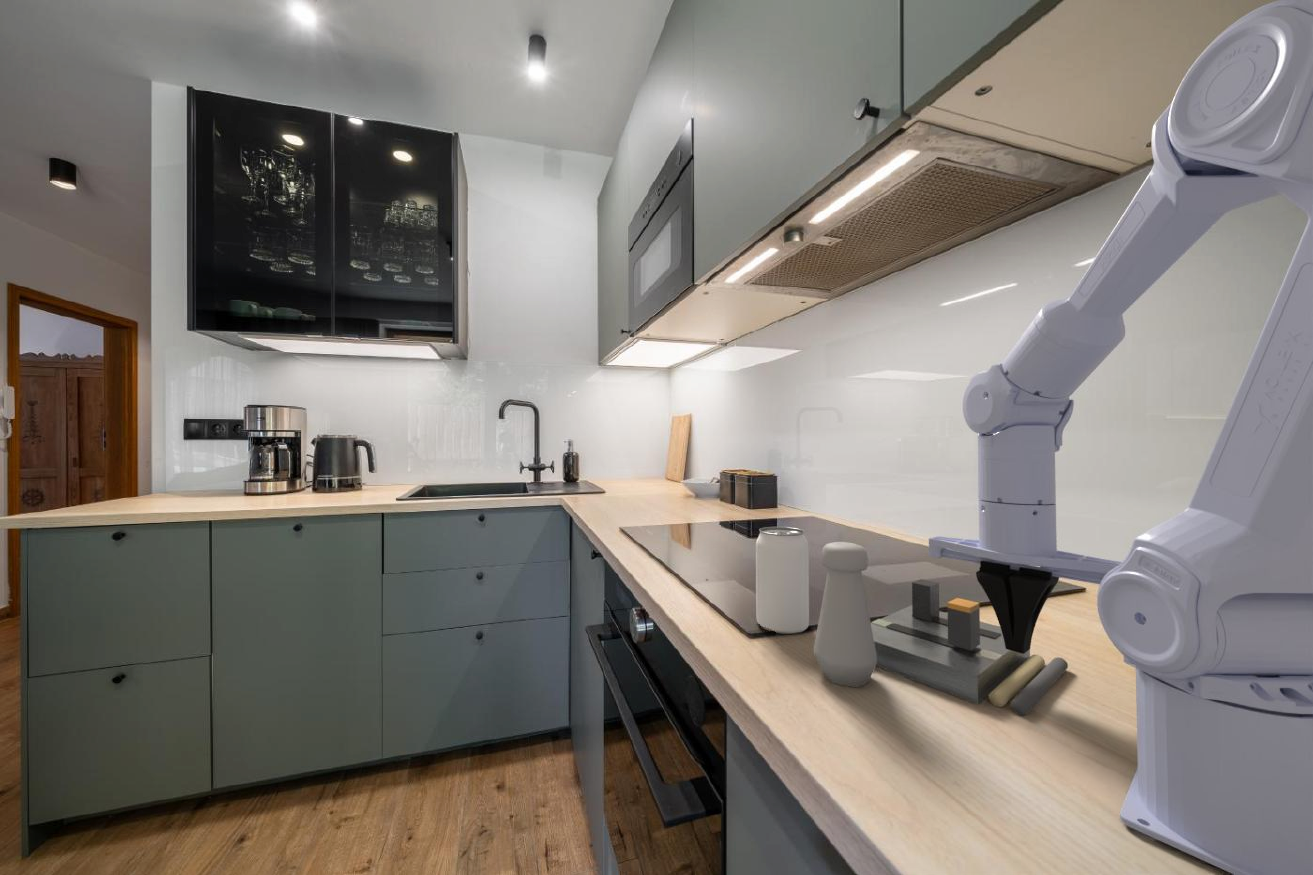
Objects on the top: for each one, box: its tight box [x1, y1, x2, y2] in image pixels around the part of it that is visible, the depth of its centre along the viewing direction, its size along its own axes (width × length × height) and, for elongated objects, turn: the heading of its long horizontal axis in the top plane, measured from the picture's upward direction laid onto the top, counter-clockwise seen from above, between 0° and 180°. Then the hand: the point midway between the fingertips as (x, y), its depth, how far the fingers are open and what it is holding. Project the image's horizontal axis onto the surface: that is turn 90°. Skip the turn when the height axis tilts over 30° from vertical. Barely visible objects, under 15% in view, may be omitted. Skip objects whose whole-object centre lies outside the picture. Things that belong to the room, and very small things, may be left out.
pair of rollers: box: [988, 654, 1069, 716], centre depth 44 cm, size 3×14×1 cm, turn 128°
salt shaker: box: [813, 541, 877, 688], centre depth 46 cm, size 6×6×13 cm
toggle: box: [947, 597, 981, 651], centre depth 47 cm, size 2×2×4 cm
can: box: [755, 526, 810, 635], centre depth 59 cm, size 6×6×12 cm
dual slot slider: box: [870, 578, 1031, 705], centre depth 50 cm, size 12×15×7 cm
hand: (1017, 648), depth 43 cm, fingers closed
